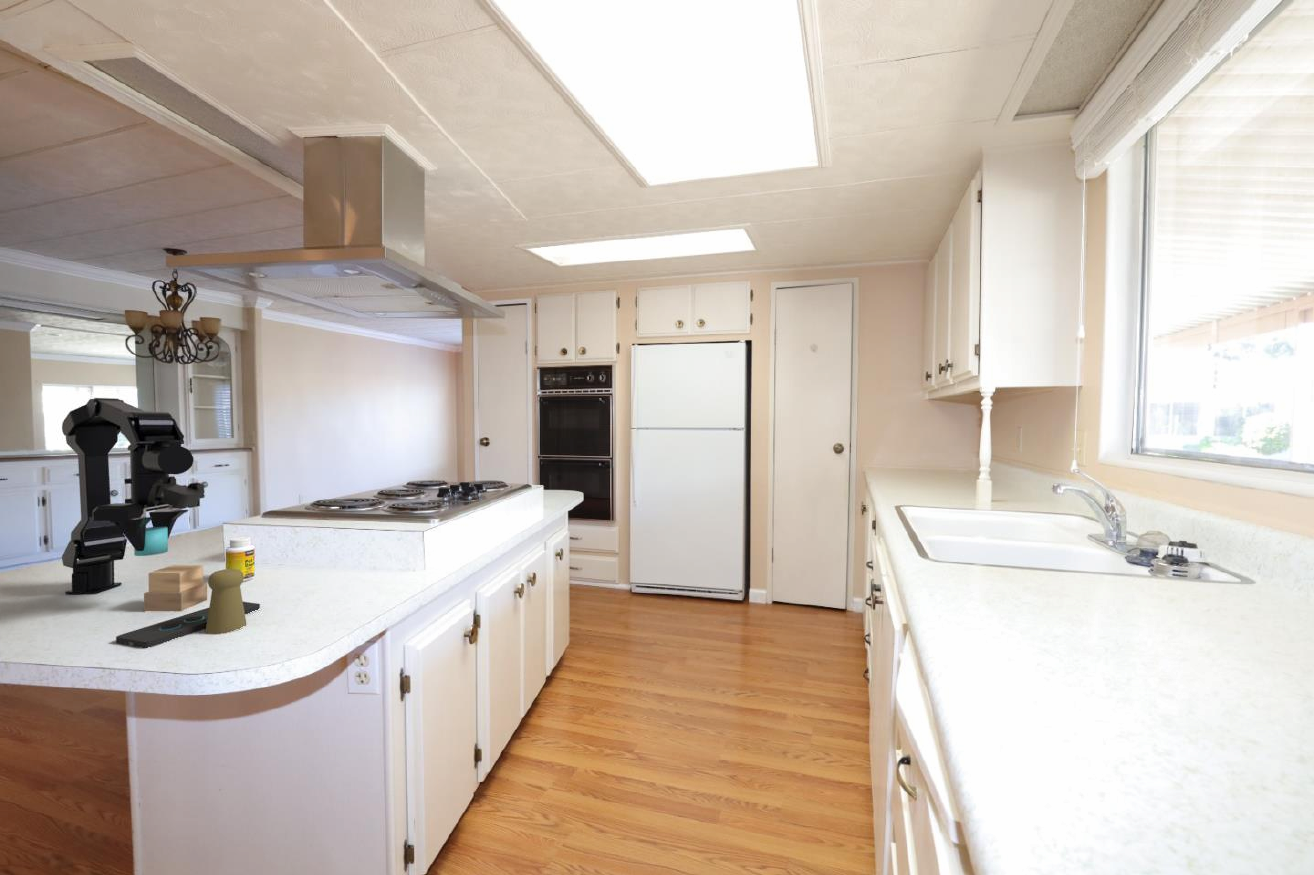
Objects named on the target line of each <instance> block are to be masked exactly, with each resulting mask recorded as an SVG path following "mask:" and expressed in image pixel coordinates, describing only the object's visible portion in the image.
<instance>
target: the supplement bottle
mask: <svg viewBox="0 0 1314 875" xmlns="http://www.w3.org/2000/svg"><path fill="white" fill-rule="evenodd" d="M251 542H252V541H251V537H249V536H238V537H234V538H231V539H229V546H228V547H227V548H225V569H238V570H241V572H242V573H243V575H244V579H243V582H242V583H245V582H248V581H251V580H252V579H254V577H255V562H256V560H255V557H256V555H255V552H256V551H255V545H253V544H251Z"/></svg>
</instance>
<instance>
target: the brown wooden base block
mask: <svg viewBox="0 0 1314 875" xmlns="http://www.w3.org/2000/svg"><path fill="white" fill-rule="evenodd" d="M205 601H208V582H203V584H200V585H198V586H195V587H193V588H190V589H187V590H185V591H182V592H149V591H147V592H145V593H143V612H144V611H174V612H183V611H185V609H186V610H188V609H190V608H192V607H195V606H197V605H199V604H201V603H204V602H205ZM189 607H190V608H189ZM187 608H188V609H187Z"/></svg>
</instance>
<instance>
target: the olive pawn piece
mask: <svg viewBox="0 0 1314 875" xmlns="http://www.w3.org/2000/svg"><path fill="white" fill-rule="evenodd" d="M243 579H244V575H243V573H242V572H241V570H238V569H226V568H224V569H220V570H217V571H214V572H213V573H211V574H210V575H209V576H208V580H207V586H208V588H210V590H211V595H210V601H209V605H208V606H209V607H208V608H209V612H208V619H207V625H206V629H205V634H208V635H222V634H221V633H223V634H228V633H227V632H229V633H232V632H231V631H233V632H235V631H234V630H236V629H239V630H241V629H242V628H241V627H243V626H245V627H246V626H247V618H246V615H245V612H244V606H243V602H244V600H243V597H242V596H243V595H242V590H241V585H242V584H243V583H244V582H243ZM240 628H241V629H240ZM236 631H237V630H236Z"/></svg>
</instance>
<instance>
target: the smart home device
mask: <svg viewBox="0 0 1314 875" xmlns="http://www.w3.org/2000/svg"><path fill="white" fill-rule="evenodd" d="M243 606H244V612H245V614H247V615H249V614H251V613H250V612H252V611H255V610H258V609H259V608H260V609H261V604H260V603H255V602H248V601H243ZM258 611H259V610H258ZM208 612H209V607H207V608H202V609H199V610H197V611H192V612H190V613H187V614H183V615H180V616H177V617H174V618H171V619H167V620H164V621H161V622H157V623H154V624H150V625H148V626H145V627H142V628H138V629H134V630H131V631H129V632H126V633H122V634H119V635H117V636H115V643H116V644H119V645H124V646H129V647H130V646H131V647H135V648H140V647H141V648H142V649H149V648H148V647H150V648H153V647H156V646H159V645H162V644H165V643H167V641H168V642H171V641H173V640H172V639H174V640H176V639H175V638H177V639H179V638H178V637H180V638H182V637H185V636H188V635H191V634H194V633H197V632H200V631H203V630H206V629H205V628H206V625H207V619H208ZM255 612H256V611H255ZM248 613H249V614H248ZM252 613H253V612H252ZM202 629H203V630H202ZM199 630H200V631H199ZM196 631H197V632H196ZM193 632H194V633H193ZM170 640H171V641H170ZM164 642H165V643H164Z"/></svg>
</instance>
